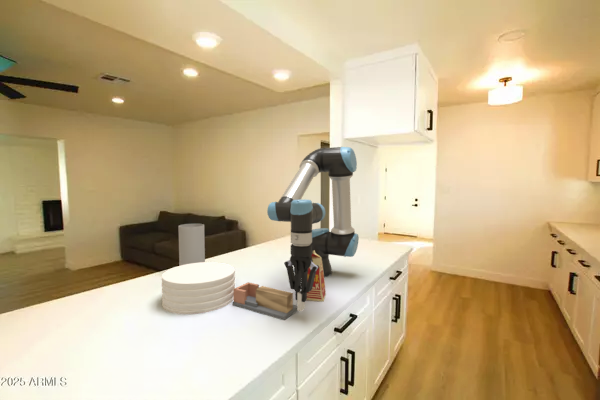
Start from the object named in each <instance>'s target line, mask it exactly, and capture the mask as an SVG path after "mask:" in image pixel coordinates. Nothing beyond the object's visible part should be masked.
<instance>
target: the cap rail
mask: <svg viewBox="0 0 600 400" xmlns="http://www.w3.org/2000/svg"><path fill="white" fill-rule="evenodd" d="M259 287H260V284H257V283H254V282H246V283H243V284H241V285H239V286H237V287H235V289H233V290H234V300H233V301H232V306H235V307H238V308H241V309H244V310H249V311H251V312H255V313H259V314H262V315H266V316H269V317H273V318H276V319H279V320H283V321H285V320H287V319H288V318H289V317H291V316H292V315H294V314H295V313H296V312H298V311H297V305H295V304H293V309H292V310H291V311H289V312H288V313H284V312H281V311H277V310H274V309H270V308H266V307H263V306H259V305H258V303H256V289H257V288H259Z"/></svg>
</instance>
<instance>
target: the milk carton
mask: <svg viewBox="0 0 600 400" xmlns="http://www.w3.org/2000/svg"><path fill="white" fill-rule="evenodd" d="M312 260H313V263H314V264H315V265H318V266H319V268H318V270H317V271H316V275H315V279H314V283H313V287H312V290H311V291H310V292H308V293H307V300H306V301H314V302H324V301H325V298H326V295H327V293H326V291H327V290H326V282H325V277H324V272H323V264H322V258H321V257H320V256H319V255H317V254H316V253H315V250H314V251H313V254H312ZM310 268H311V266H310V267H309V268H308V278H309V274H310V271H311V270H310Z"/></svg>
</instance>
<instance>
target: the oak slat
mask: <svg viewBox="0 0 600 400" xmlns="http://www.w3.org/2000/svg"><path fill="white" fill-rule="evenodd" d="M256 303H258V305H259V306H263V307H266V308H270V309H274V310H277V311H281V312H284V313H288V312H289V311H291V310H292V309H293V305H294V292H290V291H286V290H282V289H276V288H273V287H268V286H264V285H261V286H259V288H257V289H256Z"/></svg>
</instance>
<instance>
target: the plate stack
mask: <svg viewBox="0 0 600 400" xmlns="http://www.w3.org/2000/svg"><path fill="white" fill-rule="evenodd" d="M161 287H162V288H161V298H162V300H161V301H162V302H161V305H162V308H163V309H164V310H165V311H166V312H170V313H173V314H179V315H197V314H205V313H209V312H213V311H217V310H219V309H222V308H225V307H226V306H228V305H230V304H231V303H233V302H234V290H233V289H235V288H236V269H235V267H234V266H233V265H231V264H228V263H223V262H216V261H205V262H200V263H191V264H185V265H181V266H173V267H172V268H169V269H167V270H165V271H164V272H163V273H162V274H161Z"/></svg>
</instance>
